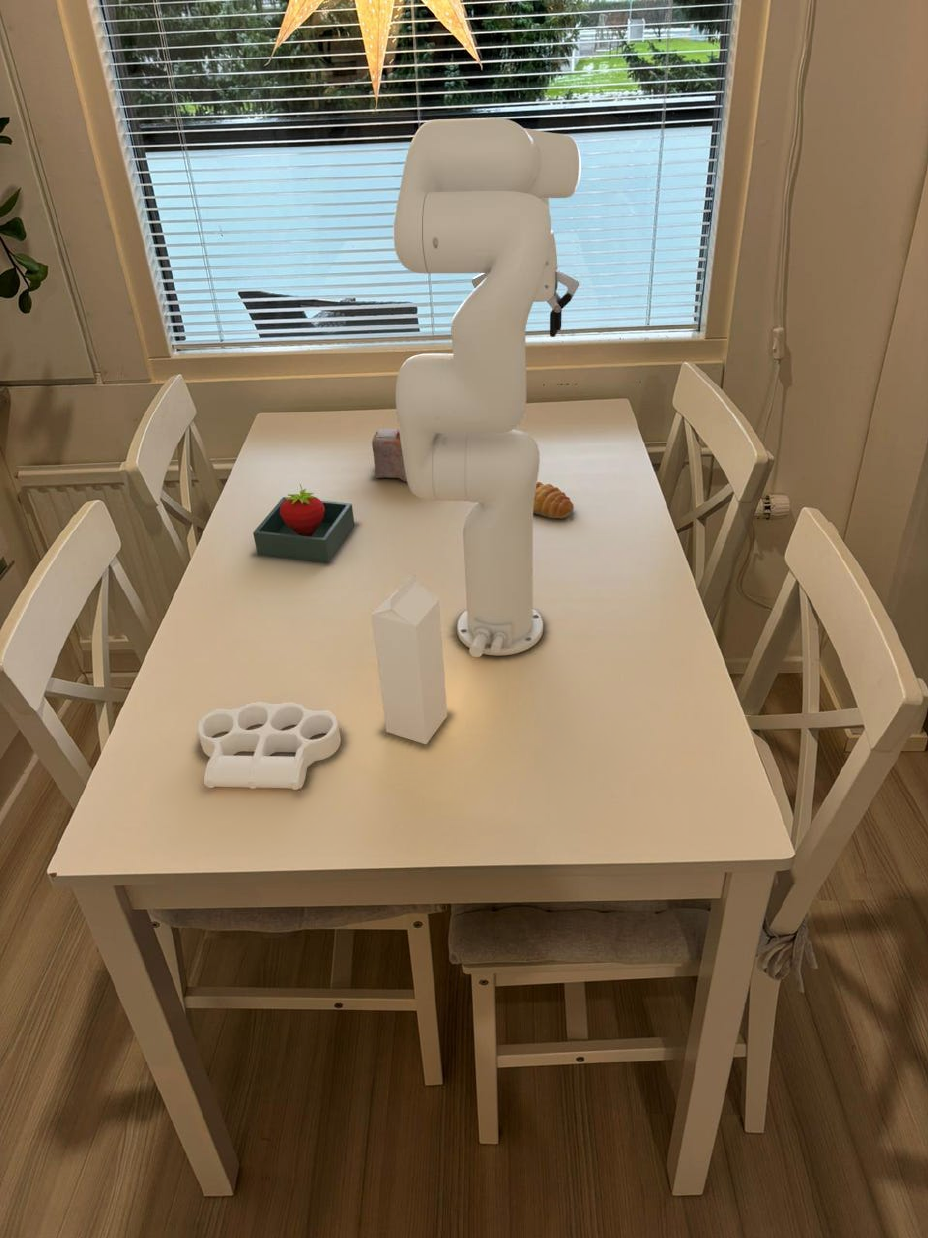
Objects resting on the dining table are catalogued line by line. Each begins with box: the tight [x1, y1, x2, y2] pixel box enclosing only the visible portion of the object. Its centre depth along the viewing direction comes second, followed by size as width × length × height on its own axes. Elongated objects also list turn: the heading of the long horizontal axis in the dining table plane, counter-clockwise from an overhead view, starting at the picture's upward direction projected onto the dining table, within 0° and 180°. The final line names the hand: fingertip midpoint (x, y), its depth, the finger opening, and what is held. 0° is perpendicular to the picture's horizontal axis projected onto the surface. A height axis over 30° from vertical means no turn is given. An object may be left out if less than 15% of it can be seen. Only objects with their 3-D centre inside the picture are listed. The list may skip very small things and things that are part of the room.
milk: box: [371, 572, 448, 745], centre depth 114 cm, size 6×6×22 cm
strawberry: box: [280, 483, 325, 537], centre depth 157 cm, size 6×8×10 cm
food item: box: [371, 428, 407, 482], centre depth 175 cm, size 14×8×10 cm, turn 83°
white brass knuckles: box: [196, 701, 342, 791], centre depth 117 cm, size 3×18×15 cm
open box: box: [252, 496, 356, 564], centre depth 158 cm, size 12×13×4 cm
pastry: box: [533, 481, 575, 519], centre depth 163 cm, size 9×7×4 cm
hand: (525, 332), depth 152 cm, fingers open, 9 cm apart
